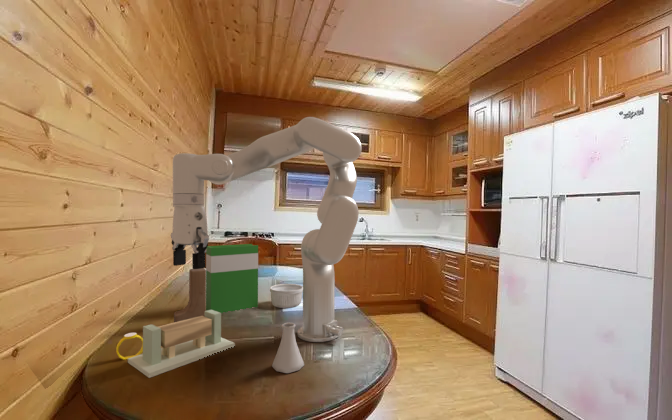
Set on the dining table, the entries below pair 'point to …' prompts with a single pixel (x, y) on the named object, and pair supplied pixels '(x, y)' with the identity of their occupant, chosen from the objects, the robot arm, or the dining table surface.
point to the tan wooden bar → (185, 331)
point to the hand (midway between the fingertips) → (189, 266)
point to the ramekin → (286, 295)
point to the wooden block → (194, 296)
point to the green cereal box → (231, 277)
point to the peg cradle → (177, 349)
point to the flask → (288, 352)
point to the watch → (129, 336)
